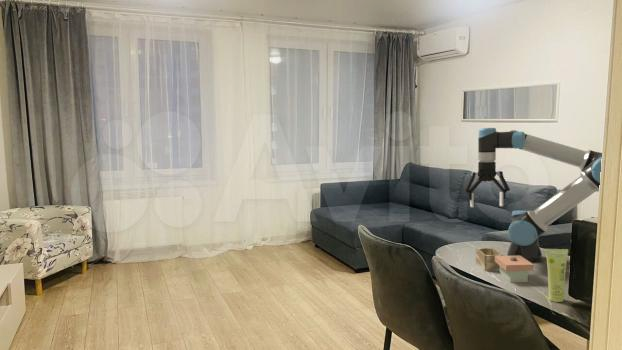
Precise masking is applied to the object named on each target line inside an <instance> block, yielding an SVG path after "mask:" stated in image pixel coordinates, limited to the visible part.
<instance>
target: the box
mask: <svg viewBox="0 0 622 350" xmlns="http://www.w3.org/2000/svg"><path fill="white" fill-rule="evenodd" d="M495 256H504V254H502V253H501V252H500V251H498V250H497V249H496V248H494V247H476V248H475V264H476V265H478V266H479V267H480V268H481V269H482V270H483V271H485V272H490V271H491V272H493V271H494V272H496V271H499V272H500V266H499V265H498V264H497V263H496V262H495Z"/></svg>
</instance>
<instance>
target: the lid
mask: <svg viewBox="0 0 622 350" xmlns="http://www.w3.org/2000/svg"><path fill="white" fill-rule="evenodd" d="M495 262H496V263H497V264H498V265H499V266H501V267H502V268H503V269H504V270H505V271H528V272H529V271H530V272H531V271H534V264H533V262H529V261H528V260H526V259H525V258H523V257H522V256H520V255H518V256H508V255H503V256H495Z"/></svg>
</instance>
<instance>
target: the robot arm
mask: <svg viewBox="0 0 622 350" xmlns="http://www.w3.org/2000/svg"><path fill="white" fill-rule="evenodd" d="M477 142H478V144H477V145H478V159H477V160H478V163H477V164H478V165H477V172H475V171H471V173H470V177H469V179H468V181H467V184H465V187H464V189H463V192H465V193H467V198H468V200H469V205H470V206H469V207H470V208H474V204H475V203H474V200H475V199H474V196H475V193H473V192H474V191H475V189H477V188H478V187H479V185H480V184H482V182H493V183H494V184H495V185H496V186H497V188H498V189H499V203H498V204H499V207H504V200H505V199H506V193H507V192H509V191H510V190H511V189H510V187H509V185H508V182H507V181H506V179H505V177H504V172H503V171H501V170H498V171H497V170H496V169H497V168H496V167H497V162H496V161H497V155H496V153H497V152H496V151H497V149H518V150H521V151H526V152H528V153H532V154H534V155H538V156H541V157H545V158H548V159H551V160H555V161H558V162H561V163H564V164H567V165H570V166H574V167H578V169H580V175H579V176H578V177H577V178H575V179H574V180H573V181H571V182H570V183H569V184H568V185H566V186H565V187H563V188H562V189H561V190H560V191H558V192H557V193H555V194H554V195H553V196H552V197H550V198H549V199H547V200H545V202H543V203H542V204H541V205H539V206H538V207H536V208H535V209H533V210H519V209H518V210H512V212H511V223H510V225H509V226H508V230H507V232H508V236H509V239H510V240H511V241H510V244H509V247H508V249H507V256H518V255H520V256H522V257H523V258H525V259H526V260H528V261H529V262H530V263H538V262H540V261H542V259H543V254H542V250H541V248H540V244H539V237H540V236H542V235H543V234H544V233H546V232H547V231H548V227H549V225H551V224H552V223H554V222H555V221H557V220H558V219H559V218H561V217H563V216H564V215H565V214H566V213H568V212H569V211H570V210H572V209H573V208H575V207H577V206H578V205H579V204H581V203H582V202H583V201H585V200H586V199H588V198H589V197H591V196H592V195H593V194H594V193H596V192H598V193H599V185H600V172H601V159H602V153H603V152H599V151H594V150H592V149H588V150H583V149H579V148H576V147H572V146H569V145H565V144H563V143H562V144H561V143H559V142H555V141H552V140H548V139H545V138H541V137H538V136H533V135H531V134H527V133H525V131H519V130H516V129H515V130H510V131H497V129H496V127H480V128H479V129H478V141H477ZM477 176H478V177H477ZM496 176H498V179H500V182H501V183H500V182H499V180H497V178H496ZM476 177H477V179H476V181H475V182H474V180H475V178H476ZM473 182H474V183H473Z"/></svg>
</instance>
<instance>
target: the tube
mask: <svg viewBox="0 0 622 350" xmlns="http://www.w3.org/2000/svg"><path fill="white" fill-rule="evenodd" d="M544 250H545V256H546V264H547V281H548V283H547V284H548V287H547V288H548V300H549V301H551V302H555V303H562V302H564V299H565V285H566V284H565V283H566V282H565V281H566V272H567V271H566V270H567V261H568V254H569V249H568V248H566V249H564V248H561V249H560V248H545V249H544Z"/></svg>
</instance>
